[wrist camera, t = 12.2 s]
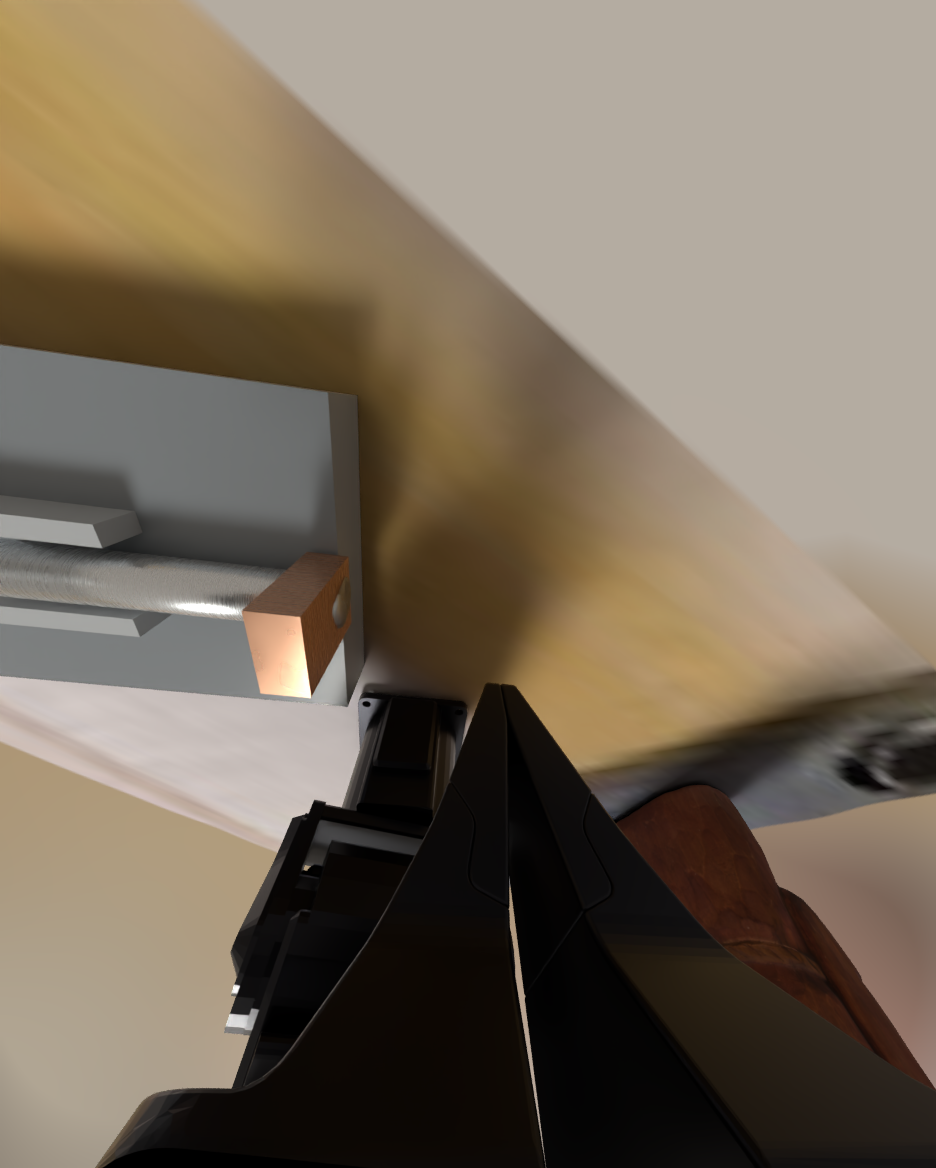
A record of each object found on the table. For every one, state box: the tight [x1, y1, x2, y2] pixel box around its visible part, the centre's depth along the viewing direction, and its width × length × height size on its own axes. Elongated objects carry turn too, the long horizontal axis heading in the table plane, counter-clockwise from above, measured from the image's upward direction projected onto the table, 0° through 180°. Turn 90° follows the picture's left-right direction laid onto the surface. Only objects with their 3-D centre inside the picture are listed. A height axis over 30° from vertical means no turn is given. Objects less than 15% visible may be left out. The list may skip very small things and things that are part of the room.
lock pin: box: [0, 538, 351, 698], centre depth 11 cm, size 3×12×4 cm, turn 83°
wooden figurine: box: [616, 785, 936, 1090], centre depth 19 cm, size 12×6×18 cm, turn 146°
